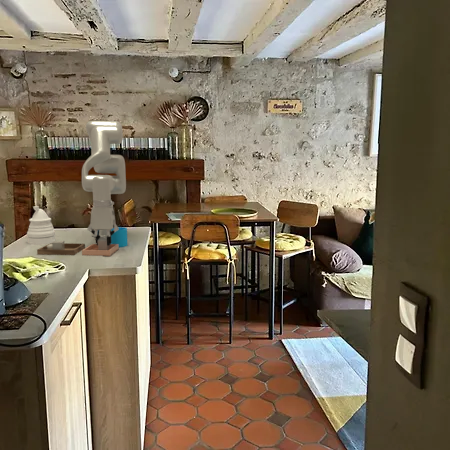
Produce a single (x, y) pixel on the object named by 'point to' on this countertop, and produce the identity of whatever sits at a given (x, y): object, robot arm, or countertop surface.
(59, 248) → the stone
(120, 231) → the mug
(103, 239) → the stone
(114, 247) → the tray
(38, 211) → the honey pot
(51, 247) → the pebble
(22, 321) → the countertop surface
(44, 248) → the tray
